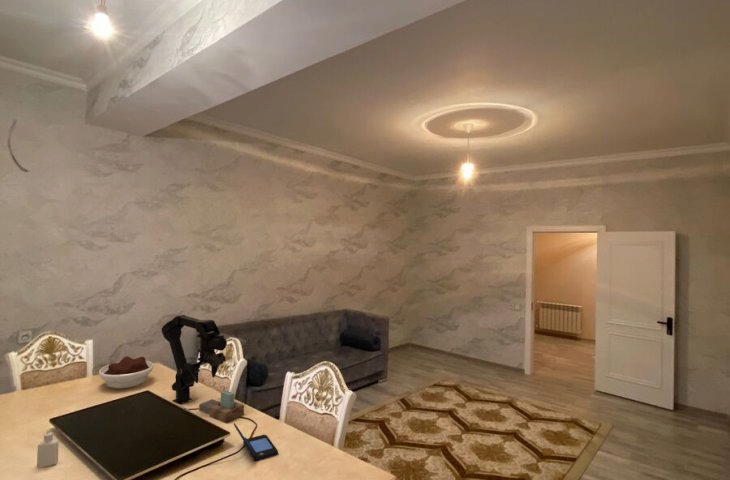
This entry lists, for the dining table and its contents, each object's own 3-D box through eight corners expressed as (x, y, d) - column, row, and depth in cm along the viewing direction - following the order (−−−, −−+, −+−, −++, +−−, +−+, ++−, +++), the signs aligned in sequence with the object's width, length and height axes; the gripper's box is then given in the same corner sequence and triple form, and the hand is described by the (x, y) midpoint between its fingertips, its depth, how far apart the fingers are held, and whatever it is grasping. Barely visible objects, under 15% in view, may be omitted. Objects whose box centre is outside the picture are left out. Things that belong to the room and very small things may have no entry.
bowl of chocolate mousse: (90, 386, 203) (91, 357, 203) (139, 373, 223) (140, 347, 223) (110, 398, 188) (111, 367, 188) (161, 383, 209) (162, 356, 209)
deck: (199, 410, 178) (199, 404, 178) (211, 405, 184) (212, 399, 184) (210, 415, 174) (210, 408, 174) (223, 409, 180) (223, 403, 180)
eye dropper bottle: (47, 459, 136) (48, 425, 136) (60, 462, 135) (61, 428, 135) (34, 466, 132) (35, 431, 132) (47, 469, 131) (48, 434, 131)
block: (220, 411, 175) (220, 392, 175) (224, 409, 177) (225, 390, 177) (229, 415, 171) (229, 395, 172) (233, 413, 174) (234, 393, 174)
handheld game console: (278, 455, 144) (279, 431, 144) (243, 465, 137) (243, 440, 137) (265, 436, 157) (266, 414, 157) (232, 445, 150) (233, 421, 150)
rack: (209, 416, 172) (209, 406, 172) (227, 408, 181) (227, 399, 181) (226, 423, 167) (226, 413, 167) (243, 414, 176) (244, 404, 176)
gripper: (200, 355, 170) (199, 390, 170) (233, 345, 186) (232, 377, 186) (184, 350, 175) (183, 384, 175) (218, 342, 192) (217, 373, 191)
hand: (205, 380), depth 182 cm, fingers open, 9 cm apart
